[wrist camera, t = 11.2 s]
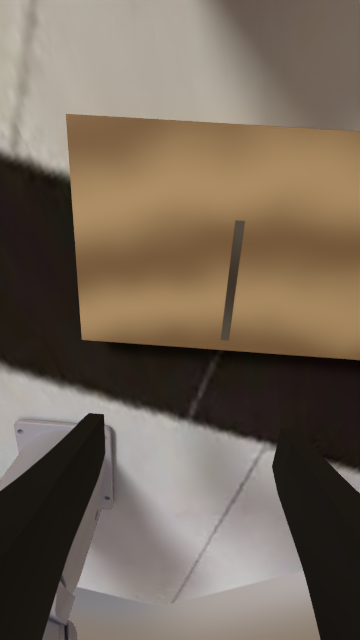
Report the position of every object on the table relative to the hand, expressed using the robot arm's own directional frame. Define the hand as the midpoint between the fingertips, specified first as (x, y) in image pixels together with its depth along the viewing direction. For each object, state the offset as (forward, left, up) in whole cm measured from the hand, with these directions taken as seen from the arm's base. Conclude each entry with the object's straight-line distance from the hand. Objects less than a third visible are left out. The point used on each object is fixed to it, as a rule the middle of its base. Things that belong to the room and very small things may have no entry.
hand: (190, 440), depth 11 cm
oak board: (+7, -8, -9) cm, 14 cm away
